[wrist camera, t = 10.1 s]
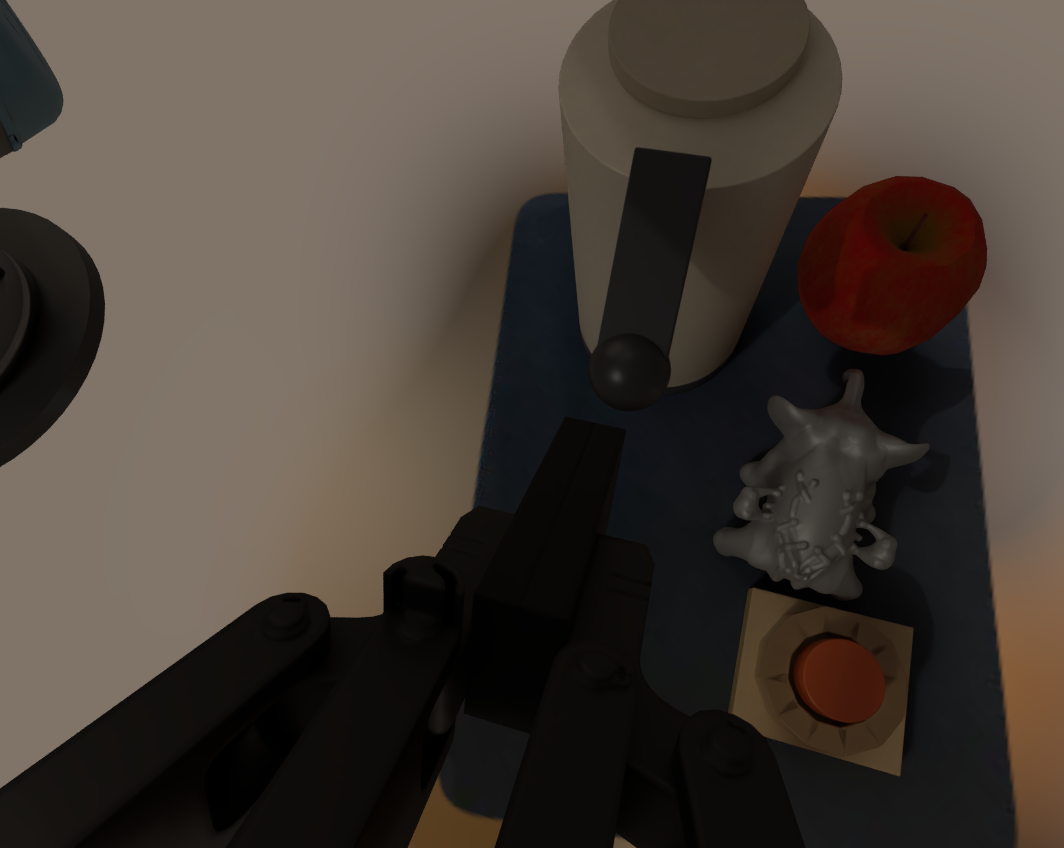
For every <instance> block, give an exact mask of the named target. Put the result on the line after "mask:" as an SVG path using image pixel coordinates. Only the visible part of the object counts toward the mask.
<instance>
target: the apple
mask: <svg viewBox="0 0 1064 848" xmlns="http://www.w3.org/2000/svg"><path fill="white" fill-rule="evenodd" d="M986 262H987V246H986V240H985V234H984V228H983V223H982V219H981V217H980V215H979V214H978V212H977V210H976V209H975V207H974V205H973V204H972V202H971V200H970V199H969V198H968V197H966V196H965V195H964V194H962V193H961V192H960V191H958V190H957V189H956V188H955V187H952V186H949V185H946V184H943V183H939V182H936V181H933V180H930V179H927V178H924V177H906V176H905V177H904V176H895V177H892V178H888V179H885V180H882V181H879V182H876V183H872V184H869V185H867V186H863V187H862V188H860V189H859V190H857V191H856V192H855V193H853V194H852V195H850V196H849V197H848V198H846V199H845V200H843V201H842V202H841V203H839V204H838V205H836V206H835V207H834V208H833V209H831V210H830V211H829V212H828V213H827V214H826V215H825V216H824V217H823V218H822V219H821V220H820V221H819V223H818V224H817V225H816V226H815V227H814V228H813V229H812V231H811V233H810V235H809V236H808V238H807V240H806V242H805V244H804V247H803V250H802V253H801V257H800V260H799V263H798V266H797V268H798V291H799V295H800V299H801V303H802V305H803V307H804V310H805V312H806V314H807V316H808V317H809V319H810V321H811V322H812V324H813V326H814V327H815V329H816V330H817V331H818V332H819V333H821V334H822V335H823V336H824V337H825V338H827V339H828V340H830V341H831V342H833V343H835V344H837V345H839V346H841V347H844V348H846V349H848V350H851V351H857V352H863V353H870V354H876V355H888V354H897V353H900V352H902V351H904V350H906V349H909V348H911V347H913V346H916V345H918V344H920V343H922V342H924V341H927V340H929V339H930V338H932V337H933V336H934V335H935V334H936V333H937V332H939V331H940V330H941V329H942V328H943V327H944V326H945V325H947V324H948V323H949V322H950V321H951V320H952V319H953V318H955V317H956V316H957V315H958V314H959V313H960V312H961V310H962V309H963V308H964V306H965V305H966V304H967V303H968V301H969V300H970V299H971V298H972V296H973V295H974V294H975V292H976V291H977V290H978V289H979V287H980V284H981V281H982V278H983V275H984V272H985V269H986Z"/></svg>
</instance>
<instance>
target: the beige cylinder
mask: <svg viewBox="0 0 1064 848" xmlns="http://www.w3.org/2000/svg"><path fill="white" fill-rule="evenodd" d="M841 88H842V71H841V62H840V58H839V55H838V52H837V48H836V46H835V44H834V42H833V40H832V38H831V36H830V34H829V33H828V31H827V30H826V29H825V27H824V26H823V25H822V23H821V22H820V21H819V20H818V19H817V18H816V16H815V15H813V13H812V12H811V11H809V10H808V9H807V5H806V3H805V1H804V0H613V1H611V2H609V3H608V4H607V5H605V6H604V7H603V8H601V9H600V10H599V11H597V12H596V13H595V14H594V15H593V16H592V17H591V18H590V19H589V20H588V21H587V22H586V23H585V24H584V25H583V26H582V28H581V29H580V30H579V32H578V33H577V34H576V35H575V37H574V39H573V40H572V42H571V44H570V45H569V47H568V50H567V52H566V54H565V57H564V59H563V62H562V66H561V71H560V75H559V98H560V109H561V120H562V132H563V142H564V154H565V165H566V176H567V188H568V199H569V210H570V221H571V232H572V243H573V254H574V265H575V277H576V288H577V299H578V310H579V321H580V332H581V338H582V342H583V345H584V347H585V350H586V352H587V354H588V356H589V357H590V358H591V355H592V353H593V351H594V349H595V348H596V346H597V344H598V338H599V333H600V328H601V323H602V317H603V312H604V307H605V302H606V296H607V291H608V286H609V281H610V275H611V270H612V265H613V260H614V254H615V249H616V244H617V239H618V233H619V228H620V223H621V217H622V212H623V207H624V202H625V196H626V191H627V186H628V181H629V175H630V170H631V165H632V160H633V154H634V150H635V148H636V147H641V148H649V149H656V150H664V151H671V152H679V153H686V154H694V155H701V156H709V157H711V159H712V162H711V167H710V171H709V176H708V180H707V185H706V189H705V194H704V199H703V203H702V208H701V212H700V217H699V221H698V226H697V230H696V235H695V240H694V244H693V249H692V253H691V258H690V262H689V267H688V271H687V276H686V281H685V285H684V290H683V294H682V299H681V303H680V308H679V312H678V317H677V322H676V326H675V331H674V335H673V340H672V344H671V349H670V353H669V359H670V364H671V376H670V380H669V384H668V386H667V388H666V390H665V392H664V393H663V395H667V394H676V393H680V392H684V391H687V390H690V389H693V388H696V387H698V386H700V385H702V384H704V383H705V382H707V381H708V380H710V379H711V378H713V377H714V376H715V375H716V374H717V373H718V372H719V371H720V370H721V369H722V368H723V367H724V366H725V365H726V363H727V362H728V360H729V359H730V357H731V356H732V354H733V352H734V349H735V347H736V345H737V342H738V340H739V338H740V335H741V333H742V331H743V328H744V326H745V324H746V321H747V319H748V317H749V314H750V312H751V309H752V307H753V305H754V302H755V300H756V298H757V295H758V293H759V291H760V288H761V286H762V284H763V281H764V279H765V276H766V274H767V272H768V269H769V267H770V265H771V262H772V260H773V258H774V255H775V253H776V251H777V248H778V246H779V244H780V241H781V239H782V236H783V234H784V232H785V229H786V227H787V225H788V222H789V220H790V218H791V215H792V213H793V211H794V208H795V206H796V204H797V201H798V199H799V196H800V194H801V192H802V189H803V187H804V185H805V182H806V180H807V178H808V175H809V173H810V171H811V168H812V166H813V163H814V161H815V159H816V156H817V154H818V152H819V149H820V147H821V144H822V142H823V139H824V138H825V135H826V133H827V131H828V128H829V125H830V123H831V121H832V119H833V116H834V114H835V112H836V109H837V107H838V103H839V99H840V95H841Z"/></svg>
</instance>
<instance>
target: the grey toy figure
mask: <svg viewBox="0 0 1064 848" xmlns="http://www.w3.org/2000/svg"><path fill="white" fill-rule="evenodd" d="M842 380H843V381H844V382H845V383H846V384H847V386H846V390H845V394H844V396H843V398H842V399H841V400H840V401H839V402H838V403H836V404H834V405H831V406H827V407H824V408H821V409H816V410H811V409H802V408H797V407H795V406H794V405H792V404H791V403H790V402H788V401H787V400H785V399H784V398H782V397H780V396H773V397H771V398H770V399H769V401H768V407H767V409H768V414H769V416H770V418H771V419H772V421H773V422H774V424H775V425H776V426H777V427H778V428H779V429H780V431H781V432H782V433H783V435H784V438H782V440H781V441H780V442H779V443H778V444H777V445H776V446H775V447H774V448H772V449H771V450H770V451H769V452H768V453H767V454H766V455H765V456H764V457H763V458H762V459H761V460H760V461H755V462H749V463H746V464H744V465H743V466H742V467H741V469H740V477H741V480H742V481H743V482H744V484H745V485H746V487H744V488H743V489H742V491H741V492H740V495H739V496H738V497H737V499H736V500H735V501H734V504H733V510H734V513H735V514H736V515H737V516H738V517H739V518H742V519H744V520H752V521H751V522H750V523H749V524H747V525H746V526H744V527H742V528H737V529H736V528H733V527H725V528H722V529H720V530H718V531H717V532H716V533H715V535H714V538H713V542H714V545H715V548H716V549H717V551H718V552H719V553H720V554H722V555H724V556H736V557H739V558H742V559H744V560H746V561H748V563H749V564H751V565H752V566H754V567H755V568H758V569H762V570H766V571H767V573H768V574H769V576H770V578H771V579H772V580H773V581H775V582H777V581H780V580H782V579H784V578H786V579H788V580H790V582H791V585H792V587H793V588H794V589H796V590H798V589H802V588H806V587H810V588H812V589H814V590H815V591H817V592H820V593H823V594H831V595H832V597H834V598H835V599H837V600H841V601H847V600H853V599H856V598H858V597H859V596H860V595H861V593H862V584H861V582H860V581H859V580H858V578H857V576H856V574H855V571H854V567H853V554H854V555H857V556H858V557H859V558H860V559H861V560H863V561H864V562H865V563H867V564H868V565H870V566H871V567H873V568H876V569H880V570H884V569H887V568H889V567H890V566H891V565H892V564H893V562H894V559H895V550H896V549H897V541H896V539H895V538H893V537H892V536H890V535H888V534H887V533H885V532H884V531H883V530H881V529H879V528H877V527H875V526H873V525H871V524H870V523H871V522H872V521H873V520H874V518H875V516H876V511H875V508H874V506H873V505H872V499H873V497H874V495H875V492H876V482H877V481H878V480H879V479H880V478H881V477H882V476H883V474H884V473H885V471H886V470H887V469H889V468H892V467H896V466H901V465H905V464H909V463H912V462H914V461H916V460H918V459H920V458H921V457H922V456H923V455H925V453H926V452H927V451H928V449H929V444H910V443H907V442H905V441H903V440H901V439H899V438H897V437H895V436H892V435H889V434H887V433H884V432H883V431H881V430H879V429H878V428H877V427H876V425H875V424H874V423H873V422H872V421H871V419H870V418H869V417H868V416H867V415H866V414H865V413H864V411H863V409H862V407H861V397H862V394H863V390H864V375H863V372H862V371H861V370H859V369H848V370H846V371H845V372H844V373H843V375H842ZM765 495H768V497H767V502H766V503H765V504H763V509H762V511H761V509H760V507H759V505H758V504H759V498H760V497H763V496H765ZM856 528H865V529H868V530H869V531H870V532H871V533H872V534H873V535H874V537H875V538H876V542H875V543H874V544H872V545H871V546H866V547H857V545H856V544H855V543H854V541H858V542H859V541H861V540H862V536H860V535H859V534H857V532H856Z"/></svg>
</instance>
